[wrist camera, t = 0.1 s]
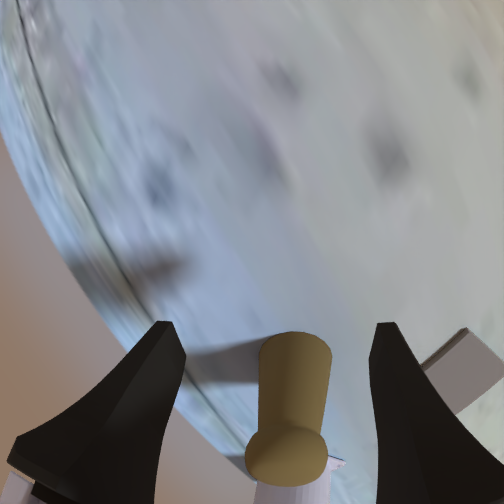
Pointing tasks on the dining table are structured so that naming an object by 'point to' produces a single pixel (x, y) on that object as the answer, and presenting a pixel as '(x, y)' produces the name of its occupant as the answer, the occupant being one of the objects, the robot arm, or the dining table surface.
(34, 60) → the dining table surface
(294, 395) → the cork
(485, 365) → the slate coaster
